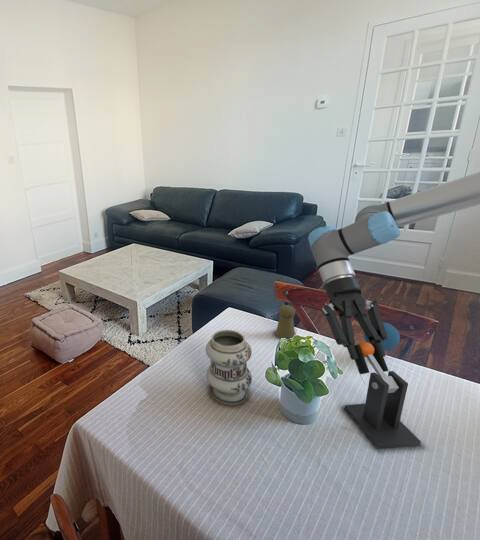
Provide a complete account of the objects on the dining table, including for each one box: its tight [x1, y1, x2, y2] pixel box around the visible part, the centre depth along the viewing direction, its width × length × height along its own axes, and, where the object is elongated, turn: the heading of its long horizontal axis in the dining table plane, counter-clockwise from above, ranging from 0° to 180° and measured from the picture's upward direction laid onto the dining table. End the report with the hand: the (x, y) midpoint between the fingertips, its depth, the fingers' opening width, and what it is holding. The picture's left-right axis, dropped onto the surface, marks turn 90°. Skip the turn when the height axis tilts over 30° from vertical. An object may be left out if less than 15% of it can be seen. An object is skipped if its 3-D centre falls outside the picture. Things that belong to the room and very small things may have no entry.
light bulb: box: [363, 321, 401, 353], centre depth 99 cm, size 8×8×12 cm
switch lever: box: [357, 341, 399, 393], centre depth 78 cm, size 12×4×4 cm, turn 0°
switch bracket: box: [343, 370, 422, 450], centre depth 77 cm, size 12×9×14 cm
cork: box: [275, 304, 296, 340], centre depth 116 cm, size 6×6×11 cm
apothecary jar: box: [204, 329, 253, 406], centre depth 92 cm, size 12×12×18 cm
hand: (373, 372), depth 79 cm, fingers closed on switch lever, 4 cm apart
